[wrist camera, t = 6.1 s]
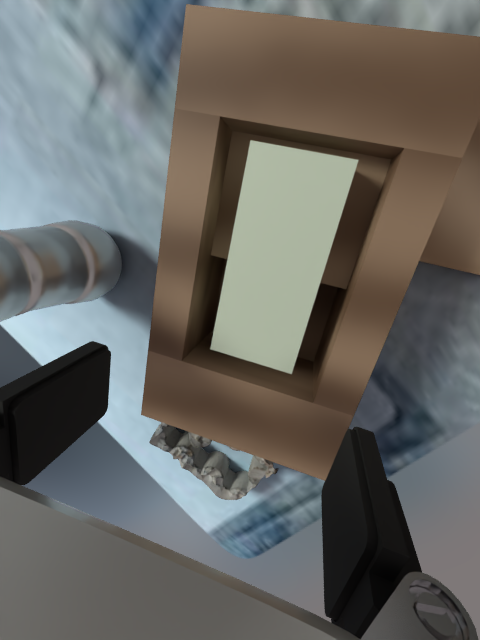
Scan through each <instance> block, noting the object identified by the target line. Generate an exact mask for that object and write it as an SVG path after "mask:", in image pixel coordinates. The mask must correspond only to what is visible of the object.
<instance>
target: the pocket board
mask: <svg viewBox="0 0 480 640" xmlns="http://www.w3.org/2000/svg"><path fill="white" fill-rule="evenodd" d="M479 118H480V37H477V36H468V35H459V34H450V33H441V32H432V31H423V30H414V29H405V28H396V27H387V26H378V25H369V24H360V23H351V22H342V21H333V20H324V19H315V18H306V17H297V16H288V15H279V14H270V13H261V12H252V11H243V10H234V9H225V8H216V7H207V6H198V5H189V4H186V12H185V21H184V30H183V39H182V48H181V57H180V66H179V75H178V84H177V93H176V103H175V112H174V121H173V130H172V139H171V148H170V157H169V166H168V175H167V184H166V193H165V203H164V212H163V221H162V230H161V239H160V248H159V257H158V266H157V275H156V284H155V293H154V302H153V312H152V321H151V330H150V339H149V348H148V357H147V366H146V375H145V384H144V393H143V402H142V411H141V415H143V416H146V417H149V418H152V419H154V420H157V421H160V422H163V423H166V424H168V425H171V426H174V427H177V428H180V429H182V430H185V431H188V432H191V433H194V434H196V435H199V436H202V437H205V438H207V439H210V440H213V441H216V442H219V443H221V444H224V445H227V446H230V447H233V448H235V449H238V450H241V451H244V452H246V453H249V454H252V455H255V456H258V457H260V458H263V459H266V460H269V461H272V462H274V463H277V464H280V465H283V466H286V467H288V468H291V469H294V470H297V471H299V472H302V473H305V474H308V475H311V476H313V477H316V478H319V479H322V480H326V478H327V476H328V473H329V471H330V469H331V466H332V464H333V462H334V459H335V457H336V454H337V452H338V450H339V447H340V445H341V443H342V440H343V438H344V435H345V433H346V431H347V430H348V428H349V426H350V423H351V421H352V419H353V416H354V414H355V411H356V409H357V407H358V404H359V402H360V400H361V397H362V395H363V393H364V390H365V388H366V385H367V383H368V381H369V378H370V376H371V374H372V371H373V369H374V367H375V364H376V362H377V359H378V357H379V355H380V352H381V350H382V348H383V345H384V343H385V341H386V338H387V336H388V333H389V331H390V329H391V326H392V324H393V322H394V319H395V317H396V314H397V312H398V310H399V307H400V305H401V303H402V300H403V298H404V296H405V293H406V291H407V288H408V286H409V284H410V281H411V279H412V277H413V274H414V272H415V270H416V267H417V265H418V262H419V260H420V258H421V255H422V253H423V251H424V248H425V246H426V244H427V241H428V239H429V236H430V234H431V232H432V229H433V227H434V225H435V222H436V220H437V218H438V215H439V213H440V210H441V208H442V206H443V203H444V201H445V199H446V196H447V194H448V192H449V189H450V187H451V184H452V182H453V180H454V177H455V175H456V173H457V170H458V168H459V166H460V163H461V161H462V158H463V156H464V154H465V151H466V149H467V147H468V144H469V142H470V139H471V137H472V135H473V132H474V130H475V128H476V125H477V123H478V121H479ZM250 140H252V141H258V142H263V143H268V144H274V145H279V146H285V147H290V148H296V149H301V150H307V151H312V152H318V153H323V154H329V155H334V156H339V157H345V158H350V159H356V160H358V163H357V167H356V170H355V173H354V176H353V179H352V183H351V186H350V189H349V192H348V195H347V199H346V202H345V205H344V208H343V211H342V215H341V218H340V221H339V224H338V227H337V231H336V234H335V237H334V240H333V243H332V247H331V250H330V253H329V256H328V259H327V263H326V266H325V269H324V272H323V275H322V279H321V282H320V285H319V288H318V291H317V295H316V298H315V301H314V304H313V307H312V311H311V314H310V317H309V320H308V323H307V327H306V330H305V333H304V336H303V339H302V343H301V346H300V349H299V352H298V355H297V359H296V362H295V365H294V368H293V371H292V374H289V373H286V372H283V371H280V370H276V369H273V368H270V367H267V366H263V365H260V364H257V363H254V362H250V361H247V360H244V359H241V358H237V357H234V356H231V355H228V354H224V353H221V352H218V351H215V350H211V349H210V348H211V343H212V337H213V332H214V327H215V322H216V317H217V311H218V306H219V301H220V296H221V291H222V285H223V280H224V275H225V270H226V265H227V260H228V254H229V249H230V244H231V239H232V234H233V228H234V223H235V218H236V213H237V208H238V203H239V197H240V192H241V187H242V182H243V177H244V171H245V166H246V161H247V156H248V151H249V146H250Z"/></svg>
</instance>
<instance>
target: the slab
mask: <svg viewBox="0 0 480 640" xmlns="http://www.w3.org/2000/svg"><path fill="white" fill-rule="evenodd" d="M357 163H358V160H356V159H350V158H345V157H339V156H334V155H329V154H323V153H318V152H312V151H307V150H301V149H296V148H290V147H285V146H279V145H274V144H268V143H263V142H258V141H252V140H250V146H249V151H248V156H247V161H246V166H245V171H244V177H243V182H242V187H241V192H240V197H239V203H238V208H237V213H236V218H235V223H234V228H233V234H232V239H231V244H230V249H229V254H228V260H227V265H226V270H225V275H224V280H223V285H222V291H221V296H220V301H219V306H218V311H217V317H216V322H215V327H214V332H213V337H212V343H211V348H210V349H211V350H215V351H218V352H221V353H224V354H228V355H231V356H234V357H237V358H241V359H244V360H247V361H250V362H254V363H257V364H260V365H263V366H267V367H270V368H273V369H276V370H280V371H283V372H286V373H289V374H292V371H293V368H294V365H295V362H296V359H297V355H298V352H299V349H300V346H301V343H302V339H303V336H304V333H305V330H306V327H307V323H308V320H309V317H310V314H311V311H312V307H313V304H314V301H315V298H316V295H317V291H318V288H319V285H320V282H321V279H322V275H323V272H324V269H325V266H326V263H327V259H328V256H329V253H330V250H331V247H332V243H333V240H334V237H335V234H336V231H337V227H338V224H339V221H340V218H341V215H342V211H343V208H344V205H345V202H346V199H347V195H348V192H349V189H350V186H351V183H352V179H353V176H354V173H355V170H356V167H357Z"/></svg>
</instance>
